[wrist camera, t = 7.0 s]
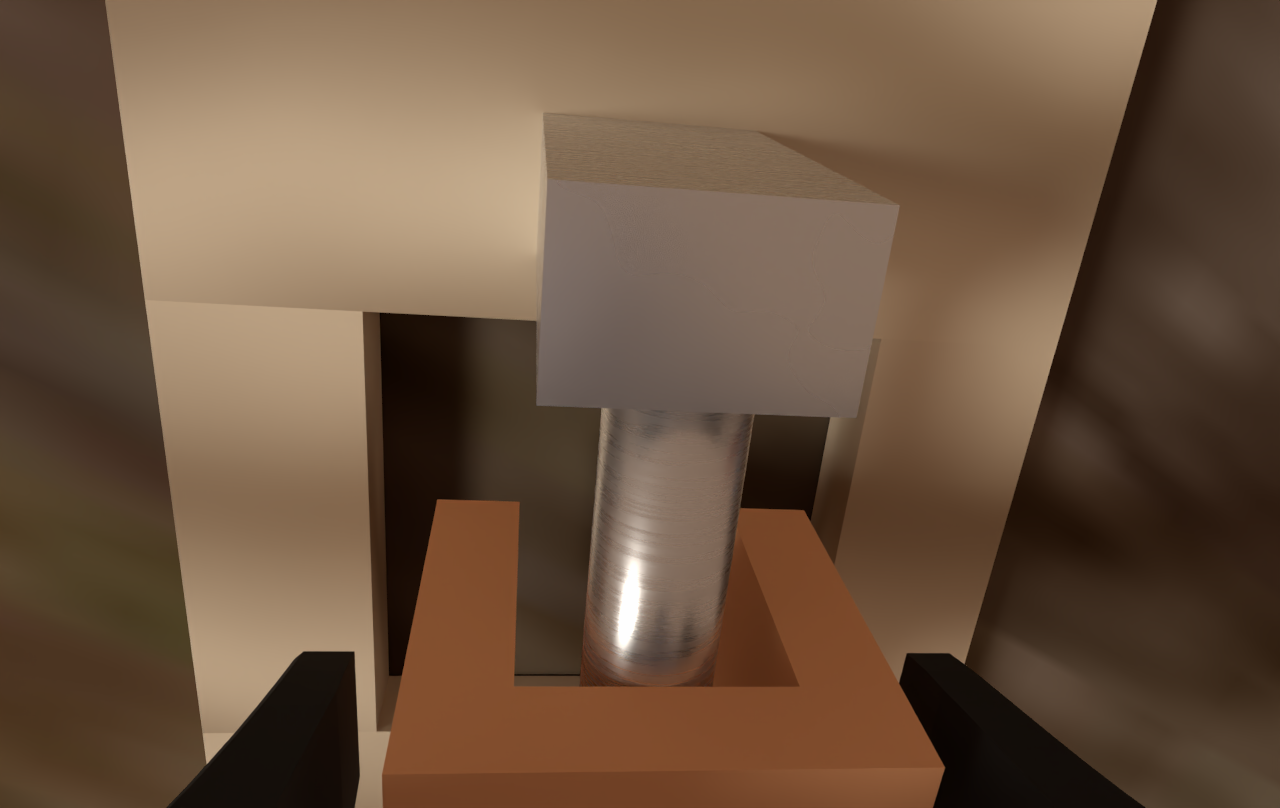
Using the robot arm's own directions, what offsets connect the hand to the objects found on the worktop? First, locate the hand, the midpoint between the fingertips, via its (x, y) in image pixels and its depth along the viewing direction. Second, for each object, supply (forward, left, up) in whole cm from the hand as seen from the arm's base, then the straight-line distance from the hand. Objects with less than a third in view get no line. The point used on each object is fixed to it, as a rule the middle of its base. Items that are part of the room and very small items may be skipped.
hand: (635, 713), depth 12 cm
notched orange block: (0, 0, -3) cm, 3 cm away
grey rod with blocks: (0, 0, -4) cm, 4 cm away
